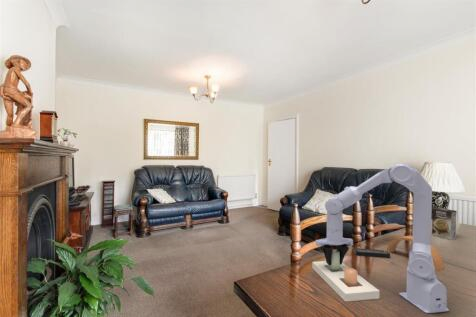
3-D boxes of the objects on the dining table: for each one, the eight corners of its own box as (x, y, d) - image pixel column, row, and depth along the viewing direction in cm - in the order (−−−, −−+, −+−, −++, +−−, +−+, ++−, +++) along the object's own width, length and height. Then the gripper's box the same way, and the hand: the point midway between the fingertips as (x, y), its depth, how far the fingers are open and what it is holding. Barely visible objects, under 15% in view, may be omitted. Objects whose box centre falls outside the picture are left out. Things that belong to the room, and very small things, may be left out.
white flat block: (379, 298, 73) (379, 290, 73) (345, 301, 71) (345, 293, 71) (339, 266, 95) (339, 260, 95) (312, 267, 93) (312, 261, 93)
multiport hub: (353, 252, 110) (353, 247, 110) (386, 255, 107) (386, 250, 107) (356, 256, 105) (356, 251, 105) (390, 259, 103) (390, 254, 103)
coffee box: (431, 235, 135) (431, 208, 135) (437, 233, 137) (437, 207, 137) (450, 240, 126) (451, 211, 126) (456, 238, 129) (456, 210, 129)
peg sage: (341, 270, 86) (342, 253, 86) (332, 270, 86) (332, 253, 86) (335, 265, 90) (336, 249, 90) (326, 265, 90) (326, 249, 90)
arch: (436, 271, 91) (437, 247, 91) (386, 252, 109) (386, 231, 109) (444, 268, 94) (444, 244, 94) (393, 250, 112) (394, 230, 112)
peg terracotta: (359, 291, 77) (360, 272, 77) (349, 293, 76) (350, 274, 76) (351, 284, 81) (351, 266, 80) (341, 286, 80) (341, 268, 79)
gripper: (345, 225, 93) (344, 258, 93) (312, 226, 91) (311, 260, 91) (356, 230, 86) (356, 266, 86) (321, 232, 84) (320, 268, 84)
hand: (334, 263), depth 88 cm, fingers closed on peg sage, 4 cm apart
